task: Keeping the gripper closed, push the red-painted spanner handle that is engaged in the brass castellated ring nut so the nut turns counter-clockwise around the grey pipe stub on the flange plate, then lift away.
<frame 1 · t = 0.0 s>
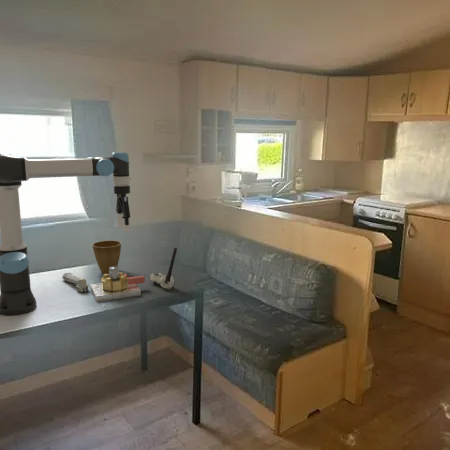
hand: (123, 229, 222), 28 cm above the table, tool pointing down, fingers open, 13 cm apart
butterfly valve: (161, 285, 228), on the table
ring nut: (123, 280, 217), point 5 cm above the table, hinge at 0.0°
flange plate: (115, 292, 216), on the table
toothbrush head: (75, 286, 226), on the table
plant pot: (108, 272, 248), on the table
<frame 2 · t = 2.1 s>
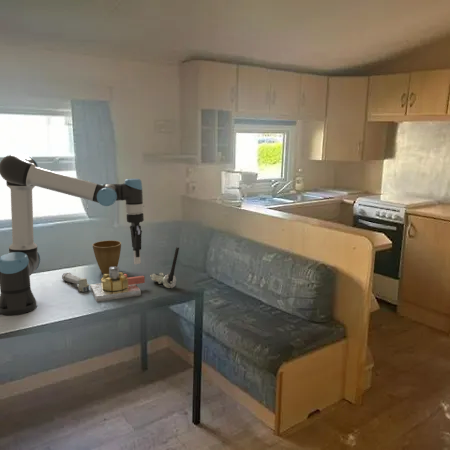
hand: (137, 263, 213), 14 cm above the table, tool pointing down, fingers closed
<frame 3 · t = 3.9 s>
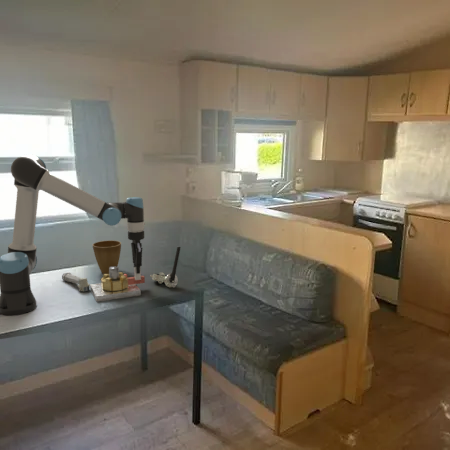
hand: (137, 279, 218), 5 cm above the table, tool pointing down, fingers closed
ring nut: (123, 280, 217), point 5 cm above the table, hinge at 0.1°, touching gripper
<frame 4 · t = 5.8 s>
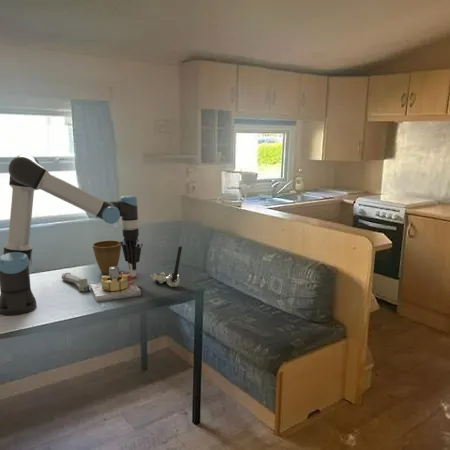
hand: (133, 276, 223), 5 cm above the table, tool pointing down, fingers closed
ring nut: (120, 278, 219), point 5 cm above the table, hinge at 34.9°, touching gripper
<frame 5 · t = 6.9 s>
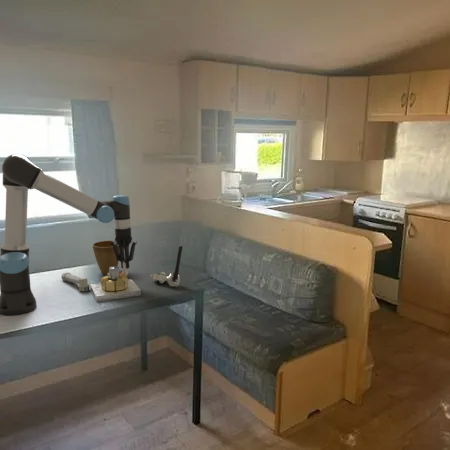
hand: (125, 274, 226), 5 cm above the table, tool pointing down, fingers closed
ring nut: (117, 278, 219), point 5 cm above the table, hinge at 58.8°, touching gripper
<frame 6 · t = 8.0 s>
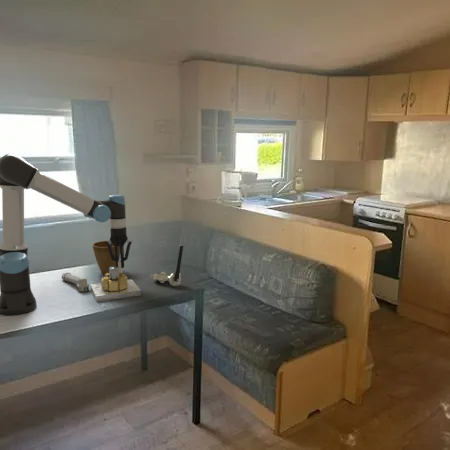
hand: (120, 274, 226), 6 cm above the table, tool pointing down, fingers closed
ring nut: (115, 278, 219), point 5 cm above the table, hinge at 74.3°, touching gripper
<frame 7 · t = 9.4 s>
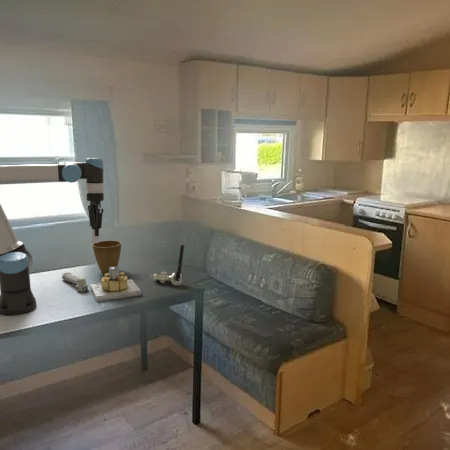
hand: (95, 242, 215), 23 cm above the table, tool pointing down, fingers closed
ring nut: (114, 278, 219), point 5 cm above the table, hinge at 77.0°
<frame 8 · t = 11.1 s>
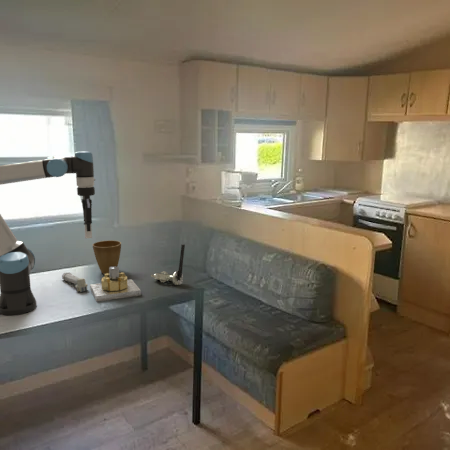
hand: (88, 237, 211), 26 cm above the table, tool pointing down, fingers closed
at the end: ring nut at +77° (first picture: +0°) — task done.
